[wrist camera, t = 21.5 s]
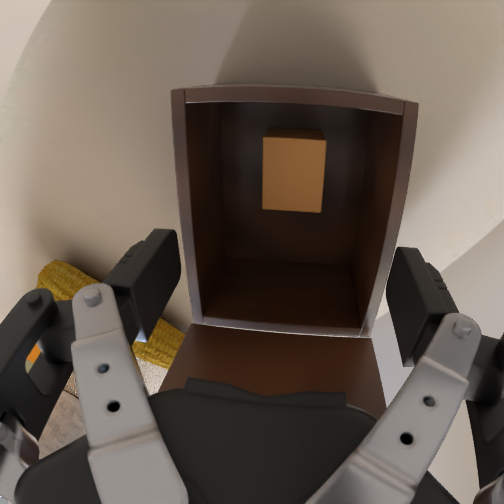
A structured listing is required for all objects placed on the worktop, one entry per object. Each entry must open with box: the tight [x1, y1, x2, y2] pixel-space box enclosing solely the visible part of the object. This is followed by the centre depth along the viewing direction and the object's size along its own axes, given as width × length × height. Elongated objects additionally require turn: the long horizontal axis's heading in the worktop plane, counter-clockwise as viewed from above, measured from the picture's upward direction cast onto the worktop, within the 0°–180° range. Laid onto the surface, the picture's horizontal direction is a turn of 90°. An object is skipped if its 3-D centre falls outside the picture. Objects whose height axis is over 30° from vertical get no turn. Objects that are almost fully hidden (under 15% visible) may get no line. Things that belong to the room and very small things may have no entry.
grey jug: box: [8, 390, 86, 504], centre depth 39 cm, size 13×17×40 cm
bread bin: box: [171, 84, 419, 337], centre depth 22 cm, size 16×13×9 cm
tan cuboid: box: [262, 128, 327, 213], centre depth 22 cm, size 5×4×4 cm
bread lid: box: [158, 324, 387, 420], centre depth 15 cm, size 16×13×5 cm
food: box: [36, 260, 185, 370], centre depth 33 cm, size 21×6×6 cm, turn 62°
